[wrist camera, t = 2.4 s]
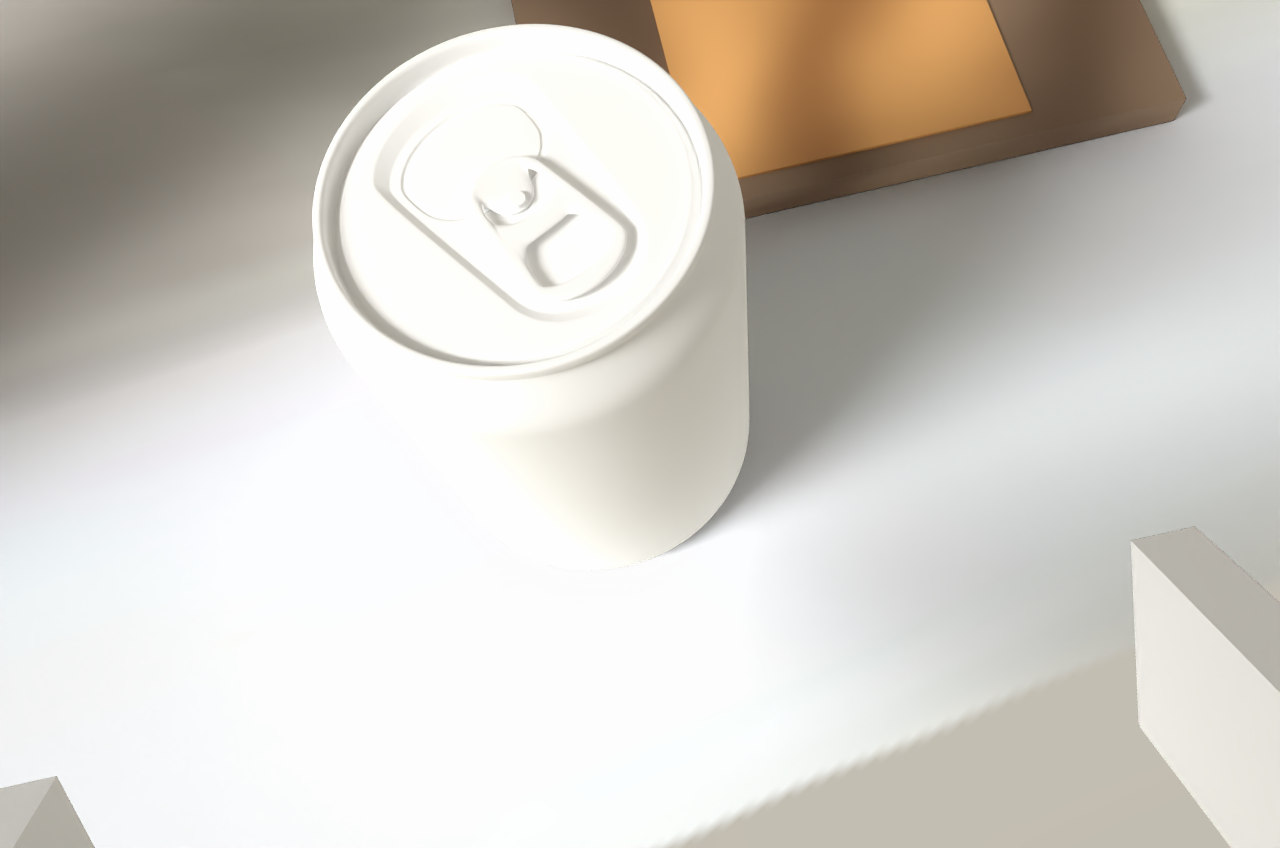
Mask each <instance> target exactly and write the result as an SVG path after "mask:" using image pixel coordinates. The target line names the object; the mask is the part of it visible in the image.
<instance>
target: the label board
mask: <svg viewBox="0 0 1280 848" xmlns="http://www.w3.org/2000/svg"><path fill="white" fill-rule="evenodd" d="M511 1H512V6H513V11H514V16H515V21H516V25H518V24H552V25H562V26H569V27H575V28H580V29H584V30H588V31H592V32H596V33H599V34H602V35H605V36H608V37H610V38H613V39H615V40H618V41H620V42H622V43H624V44H626V45H628V46H630V47H632V48H634V49H636V50H637V51H639V52H641V53H642V54H644V55H645V56H647V57H648V58H650V59H651V60H653V61H654V62H655V63H657V64H658V65H659V66H660V67H661V68H663V69H664V70H665V71H666V72H667V73H668V74H669V75H670V76H671V77H672V78H673V79H674V80H675V81H676V82H677V83H678V84H679V86H680V87H681V88H682V89H683V90H684V92H685V93H686V94H687V96H688V97H689V98H690V100H691V101H692V103H693V104H694V105H695V106H696V107H697V108H698V109H699V111H700V112H701V113H702V114H703V115H704V116H705V118H706V119H707V120H708V122H709V123H710V124H711V125H712V127H713V128H714V130H715V131H716V133H717V134H718V136H719V137H720V139H721V141H722V143H723V144H724V146H725V148H726V150H727V152H728V154H729V156H730V159H731V161H732V163H733V166H734V168H735V171H736V174H737V177H738V181H739V184H740V188H741V193H742V198H743V204H744V213H745V218H750V217H754V216H759V215H763V214H767V213H772V212H776V211H780V210H785V209H789V208H794V207H798V206H802V205H807V204H811V203H815V202H820V201H824V200H828V199H833V198H837V197H842V196H846V195H850V194H855V193H859V192H863V191H868V190H872V189H877V188H881V187H885V186H890V185H894V184H898V183H903V182H907V181H911V180H916V179H920V178H925V177H929V176H933V175H938V174H942V173H946V172H951V171H955V170H960V169H964V168H968V167H973V166H977V165H981V164H986V163H990V162H994V161H999V160H1003V159H1008V158H1012V157H1016V156H1021V155H1025V154H1029V153H1034V152H1038V151H1043V150H1047V149H1051V148H1056V147H1060V146H1064V145H1069V144H1073V143H1078V142H1082V141H1086V140H1091V139H1095V138H1099V137H1104V136H1108V135H1112V134H1117V133H1121V132H1126V131H1130V130H1134V129H1139V128H1143V127H1147V126H1152V125H1156V124H1161V123H1165V122H1169V121H1174V120H1175V118H1176V116H1177V114H1178V112H1179V111H1180V109H1181V107H1182V105H1183V104H1184V102H1185V100H1186V97H1185V95H1184V93H1183V91H1182V88H1181V86H1180V84H1179V82H1178V80H1177V78H1176V76H1175V74H1174V72H1173V70H1172V67H1171V65H1170V63H1169V61H1168V59H1167V57H1166V55H1165V53H1164V51H1163V49H1162V46H1161V44H1160V42H1159V40H1158V38H1157V36H1156V34H1155V32H1154V30H1153V28H1152V25H1151V23H1150V21H1149V19H1148V17H1147V15H1146V13H1145V11H1144V9H1143V7H1142V4H1141V2H1140V0H511Z"/></svg>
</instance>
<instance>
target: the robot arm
mask: <svg viewBox="0 0 1280 848" xmlns="http://www.w3.org/2000/svg"><path fill="white" fill-rule="evenodd" d="M1131 558H1132V581H1133V604H1134V627H1135V649H1136V672H1137V695H1138V717H1139V726H1140V728H1141V729H1142V730H1143V732H1144V733H1145V734H1146V736H1147V737H1148V738H1149V740H1150V741H1151V742H1152V743H1153V745H1154V746H1155V748H1156V749H1157V750H1158V751H1159V753H1160V754H1161V755H1162V757H1163V758H1164V759H1165V761H1166V762H1167V763H1168V765H1169V766H1170V767H1171V769H1172V770H1173V771H1174V773H1175V774H1176V775H1177V777H1178V778H1179V779H1180V781H1181V782H1182V783H1183V785H1184V786H1185V787H1186V789H1187V790H1188V791H1189V793H1190V794H1191V795H1192V796H1193V798H1194V799H1195V801H1196V802H1197V803H1198V804H1199V806H1200V807H1201V809H1202V810H1203V811H1204V813H1205V814H1206V815H1207V816H1208V817H1209V819H1210V820H1211V821H1212V823H1213V824H1214V825H1215V827H1216V828H1217V830H1218V831H1219V832H1220V833H1221V835H1222V836H1223V838H1224V839H1225V840H1226V842H1227V843H1228V844H1229V846H1230V847H1231V848H1280V602H1278V601H1277V600H1276V599H1275V598H1274V597H1273V596H1271V594H1269V593H1268V592H1267V591H1266V590H1265V589H1264V588H1263V587H1262V586H1261V585H1260V584H1258V583H1257V582H1256V581H1255V580H1254V579H1253V578H1252V577H1251V576H1249V575H1248V574H1247V573H1246V572H1245V571H1244V570H1243V569H1242V568H1241V567H1239V566H1238V565H1237V564H1236V563H1235V562H1234V561H1233V560H1232V559H1230V558H1229V557H1228V556H1227V555H1226V554H1225V553H1224V552H1223V551H1222V550H1220V549H1219V548H1218V547H1217V546H1216V545H1215V544H1214V543H1213V542H1212V541H1210V540H1209V539H1208V538H1207V537H1206V536H1205V535H1204V534H1203V533H1201V532H1200V531H1199V530H1198V529H1197V528H1196V527H1195V526H1194V527H1190V528H1185V529H1181V530H1176V531H1171V532H1167V533H1162V534H1158V535H1153V536H1149V537H1144V538H1140V539H1135V540H1131ZM0 848H95V847H94V846H93V844H92V842H91V840H90V838H89V836H88V834H87V832H86V830H85V829H84V827H83V825H82V823H81V821H80V819H79V817H78V815H77V814H76V812H75V810H74V808H73V806H72V804H71V802H70V800H69V798H68V797H67V795H66V793H65V791H64V789H63V787H62V785H61V783H60V781H59V780H58V778H57V776H55V777H51V778H46V779H41V780H37V781H32V782H28V783H23V784H19V785H14V786H10V787H5V788H0Z"/></svg>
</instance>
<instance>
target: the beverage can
mask: <svg viewBox="0 0 1280 848" xmlns="http://www.w3.org/2000/svg"><path fill="white" fill-rule="evenodd" d="M312 224H313V237H314V247H313V263H314V276H315V283H316V289H317V294H318V298H319V302H320V305H321V309H322V312H323V315H324V317H325V320H326V322H327V325H328V327H329V329H330V332H331V334H332V336H333V338H334V339H335V341H336V343H337V345H338V346H339V348H340V350H341V351H342V353H343V354H344V356H345V357H346V359H347V360H348V361H349V362H350V364H351V365H352V366H353V368H354V369H355V370H356V371H357V373H358V374H359V375H360V376H361V377H362V379H363V380H364V381H365V382H366V384H367V385H368V386H369V387H370V388H371V390H372V391H373V392H374V393H375V394H376V396H377V397H378V398H379V399H380V401H381V402H382V403H383V404H384V405H385V407H386V408H387V409H388V410H389V411H390V413H391V414H392V415H393V416H394V417H395V419H396V420H397V421H398V422H399V424H400V425H401V426H402V427H403V428H404V430H405V431H406V432H407V433H408V434H409V436H410V437H411V438H412V439H413V441H414V442H415V443H416V444H417V445H418V447H419V448H420V449H421V450H422V451H423V453H424V454H425V455H426V456H427V457H428V459H429V460H430V461H431V462H432V464H433V465H434V466H435V467H436V468H437V470H438V471H439V472H440V473H441V474H442V476H443V477H444V478H445V479H446V481H447V482H448V483H449V484H450V485H451V487H452V488H453V489H454V490H455V491H456V493H457V494H458V495H459V496H460V497H461V499H462V500H463V501H464V502H465V504H466V505H467V506H468V507H469V508H470V510H471V511H472V512H473V513H474V514H475V516H476V517H477V518H478V519H479V520H480V521H481V523H482V524H483V525H484V526H485V527H486V528H487V529H488V530H489V531H490V532H491V533H492V534H494V535H495V536H496V537H497V538H498V539H500V540H501V541H502V542H504V543H505V544H506V545H508V546H509V547H511V548H513V549H514V550H516V551H518V552H520V553H521V554H523V555H525V556H528V557H530V558H532V559H535V560H537V561H540V562H543V563H546V564H549V565H553V566H557V567H562V568H568V569H575V570H607V569H615V568H621V567H626V566H630V565H634V564H638V563H641V562H644V561H647V560H649V559H652V558H654V557H657V556H659V555H661V554H663V553H665V552H667V551H669V550H671V549H673V548H674V547H676V546H678V545H679V544H681V543H682V542H684V541H685V540H687V539H688V538H689V537H691V536H692V535H693V534H694V533H696V532H697V531H698V530H699V529H700V528H701V527H702V526H703V525H704V524H705V523H706V522H707V521H708V520H709V519H710V518H711V517H712V516H713V515H714V514H715V513H716V511H717V510H718V509H719V508H720V506H721V505H722V504H723V502H724V501H725V499H726V498H727V496H728V494H729V493H730V491H731V489H732V487H733V486H734V484H735V482H736V479H737V477H738V475H739V472H740V470H741V467H742V464H743V461H744V457H745V454H746V449H747V444H748V437H749V371H748V326H747V281H746V237H745V213H744V204H743V198H742V193H741V188H740V184H739V181H738V177H737V174H736V171H735V168H734V166H733V163H732V161H731V159H730V156H729V154H728V152H727V150H726V148H725V146H724V144H723V143H722V141H721V139H720V137H719V136H718V134H717V133H716V131H715V130H714V128H713V127H712V125H711V124H710V123H709V122H708V120H707V119H706V118H705V116H704V115H703V114H702V113H701V112H700V111H699V109H698V108H697V107H696V106H695V105H694V104H693V103H692V101H691V100H690V98H689V97H688V96H687V94H686V93H685V92H684V90H683V89H682V88H681V87H680V86H679V84H678V83H677V82H676V81H675V80H674V79H673V78H672V77H671V76H670V75H669V74H668V73H667V72H666V71H665V70H664V69H663V68H661V67H660V66H659V65H658V64H657V63H655V62H654V61H653V60H651V59H650V58H648V57H647V56H645V55H644V54H642V53H641V52H639V51H637V50H636V49H634V48H632V47H630V46H628V45H626V44H624V43H622V42H620V41H618V40H615V39H613V38H610V37H608V36H605V35H602V34H599V33H596V32H592V31H588V30H584V29H580V28H575V27H569V26H562V25H552V24H518V25H507V26H500V27H494V28H488V29H484V30H479V31H476V32H472V33H468V34H465V35H462V36H459V37H456V38H453V39H450V40H448V41H445V42H443V43H440V44H438V45H436V46H434V47H432V48H430V49H428V50H426V51H424V52H422V53H420V54H418V55H416V56H415V57H413V58H411V59H410V60H408V61H406V62H405V63H403V64H402V65H400V66H399V67H397V68H396V69H395V70H393V71H392V72H391V73H389V74H388V75H387V76H386V77H384V78H383V79H382V80H381V81H380V82H378V83H377V84H376V85H375V86H374V87H373V88H372V89H371V90H370V91H369V92H368V93H367V94H366V95H365V96H364V97H363V98H362V99H361V100H360V101H359V102H358V104H357V105H356V106H355V107H354V108H353V110H352V111H351V112H350V113H349V115H348V116H347V117H346V119H345V120H344V122H343V123H342V125H341V126H340V128H339V129H338V131H337V133H336V135H335V136H334V138H333V140H332V142H331V144H330V146H329V148H328V150H327V152H326V155H325V157H324V160H323V162H322V165H321V168H320V171H319V175H318V178H317V182H316V187H315V192H314V200H313V211H312Z"/></svg>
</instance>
